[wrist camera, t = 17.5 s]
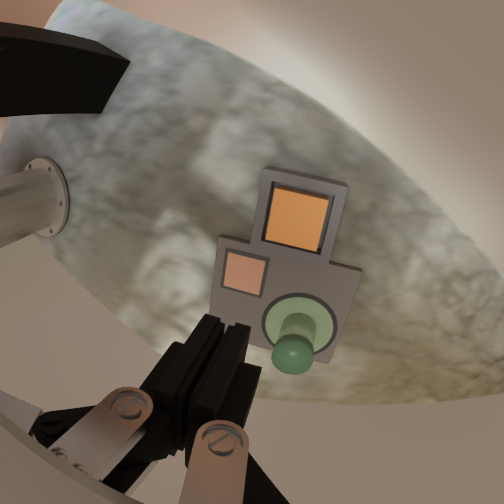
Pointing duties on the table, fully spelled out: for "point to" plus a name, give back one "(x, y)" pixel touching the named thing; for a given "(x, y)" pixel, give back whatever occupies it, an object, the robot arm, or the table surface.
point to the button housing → (306, 183)
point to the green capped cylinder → (295, 344)
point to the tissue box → (54, 72)
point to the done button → (296, 217)
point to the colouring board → (280, 294)
